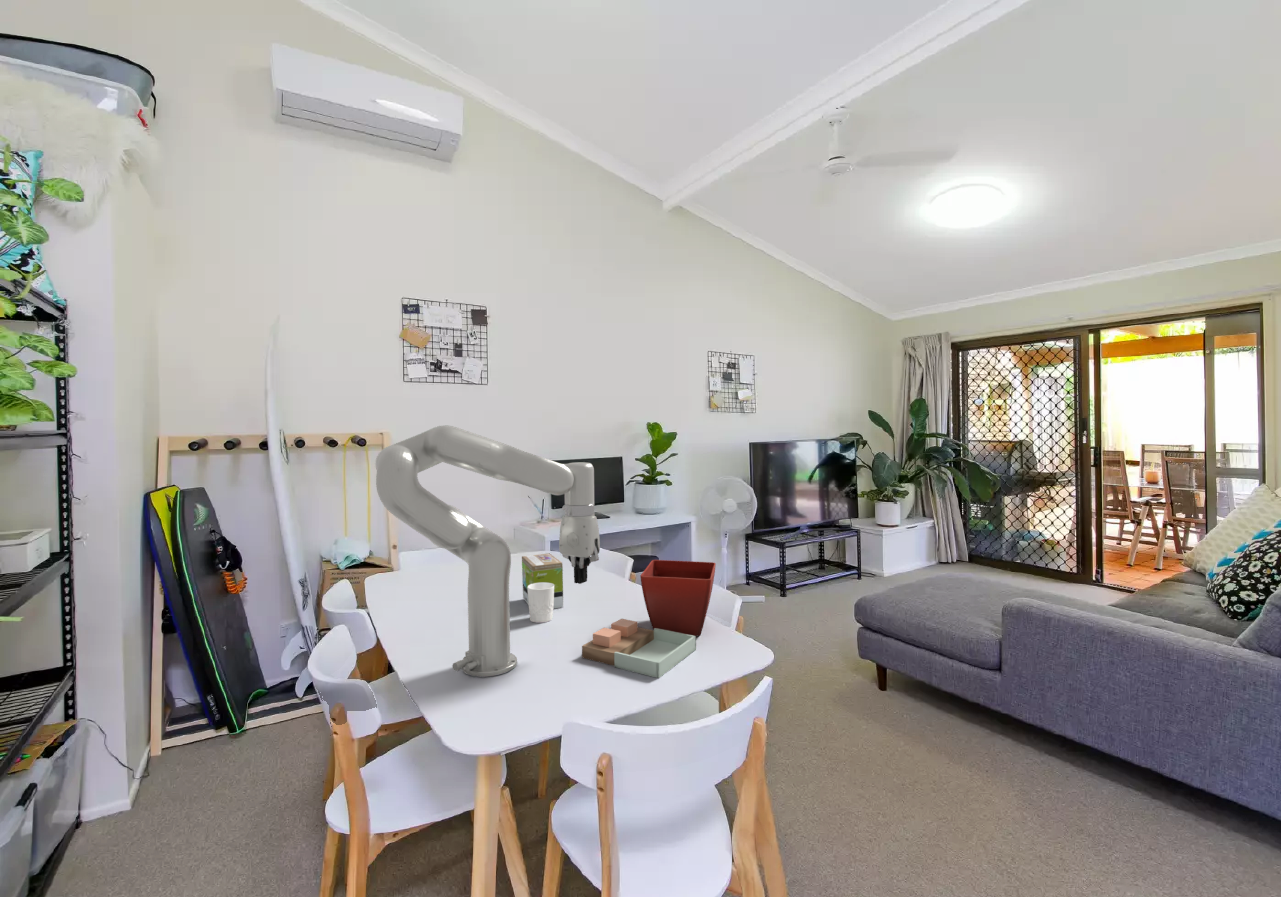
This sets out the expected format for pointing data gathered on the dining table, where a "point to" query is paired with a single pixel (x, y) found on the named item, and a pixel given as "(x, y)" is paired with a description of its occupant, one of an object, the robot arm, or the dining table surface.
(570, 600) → the dining table surface
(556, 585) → the tea box
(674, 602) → the plant pot
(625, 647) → the board
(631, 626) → the tile
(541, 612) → the white cup
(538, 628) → the dining table surface
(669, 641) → the tray
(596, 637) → the tile
